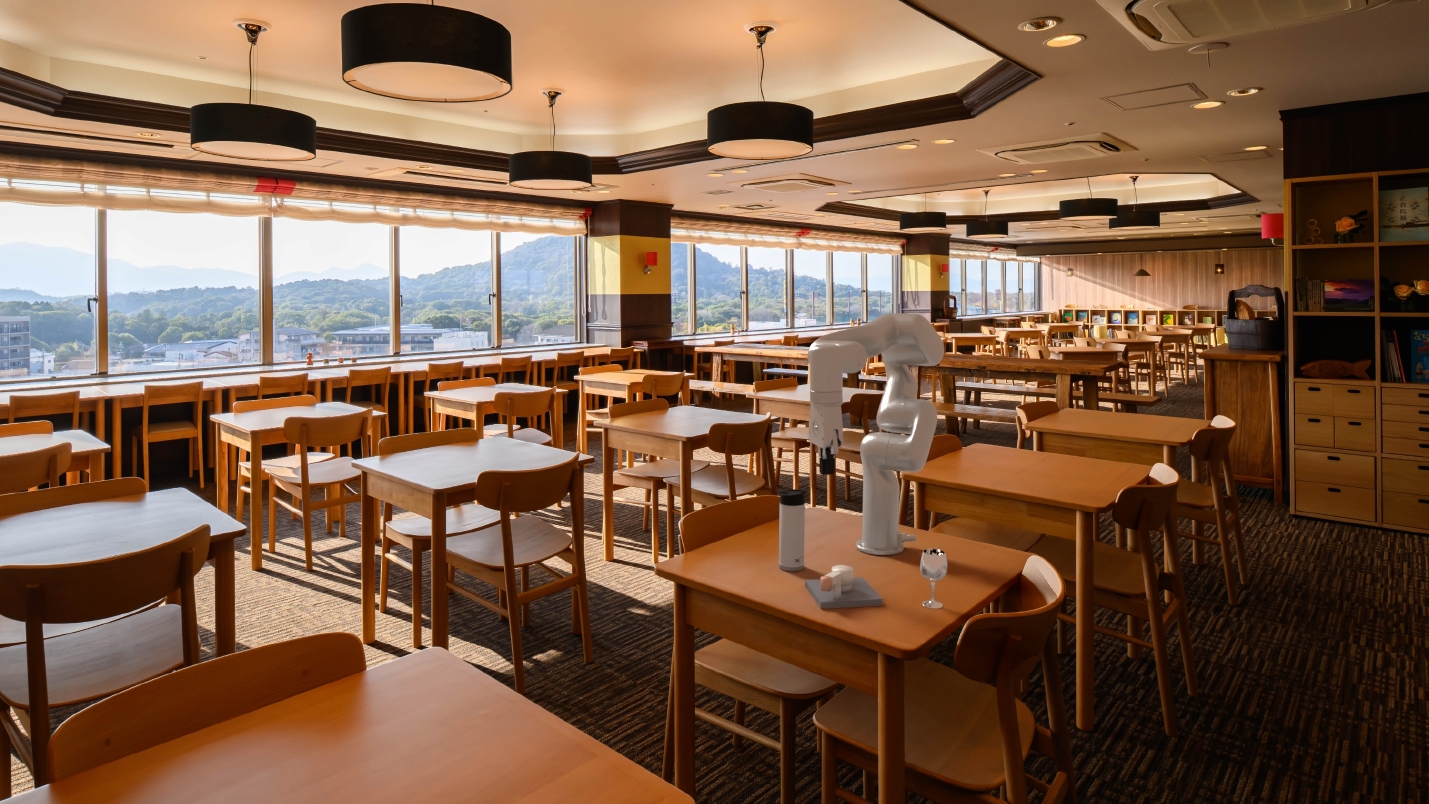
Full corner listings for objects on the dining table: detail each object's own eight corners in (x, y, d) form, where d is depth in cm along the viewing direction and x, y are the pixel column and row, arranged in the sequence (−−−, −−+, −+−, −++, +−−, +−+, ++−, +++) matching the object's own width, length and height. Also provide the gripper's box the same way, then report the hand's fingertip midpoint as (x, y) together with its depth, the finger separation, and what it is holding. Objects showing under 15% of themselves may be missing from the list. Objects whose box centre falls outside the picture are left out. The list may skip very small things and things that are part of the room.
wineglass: (915, 600, 176) (916, 548, 175) (940, 599, 176) (942, 547, 175) (924, 610, 170) (925, 556, 169) (949, 609, 171) (951, 555, 169)
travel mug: (804, 572, 194) (805, 493, 191) (777, 570, 195) (778, 492, 193) (806, 564, 200) (807, 487, 198) (780, 562, 201) (781, 486, 199)
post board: (862, 583, 187) (862, 564, 186) (882, 605, 173) (883, 585, 172) (804, 585, 185) (805, 567, 184) (820, 608, 171) (820, 588, 171)
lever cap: (838, 576, 182) (838, 563, 182) (857, 580, 179) (858, 568, 179) (813, 589, 173) (813, 576, 173) (833, 595, 170) (833, 581, 170)
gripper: (799, 394, 190) (800, 468, 193) (824, 403, 176) (824, 483, 179) (828, 392, 192) (828, 465, 195) (855, 401, 178) (855, 480, 181)
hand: (827, 473), depth 187 cm, fingers closed
